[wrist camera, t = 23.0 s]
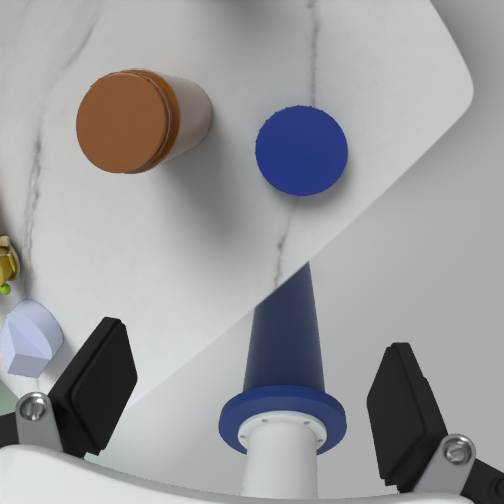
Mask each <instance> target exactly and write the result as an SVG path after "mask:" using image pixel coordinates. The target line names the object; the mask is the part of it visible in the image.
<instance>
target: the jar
mask: <svg viewBox="0 0 504 504" xmlns="http://www.w3.org/2000/svg"><path fill="white" fill-rule="evenodd" d="M90 87H91V88H90V90H89V91H88V92H87V93H86V95H85V96H84V98H83V100H82V102H81V104H80V107H79V110H78V114H77V120H76V131H77V138H78V141H79V144H80V147H81V149H82V151H83V153H84V154H85V156H86V157H87V158H88V159H89V161H90V162H92V163H93V164H94V165H95V166H97V167H98V168H100V169H102V170H104V171H107V172H111V173H124V174H137V173H142V172H145V171H148V170H150V169H152V168H154V167H156V166H158V165H160V164H162V163H163V162H165V161H167V160H169V159H171V158H173V157H175V156H177V155H179V154H181V153H183V152H185V151H188V150H190V149H192V148H193V147H195V146H196V145H198V144H199V143H200V142H201V141H202V140H203V139H204V137H205V136H206V134H207V132H208V130H209V128H210V125H211V121H212V107H211V103H210V100H209V98H208V96H207V94H206V93H205V91H204V90H203V89H202V88H201V87H200V86H199V85H197V84H196V83H194V82H192V81H190V80H186V79H183V78H179V77H175V76H171V75H167V74H163V73H158V72H154V71H149V70H145V69H127V70H123V71H120V72H115V73H110V74H108V75H106V76H104V77H102V78H100V79H98V80H97V81H96V82H95V83H94V84H93V85H92V86H90Z"/></svg>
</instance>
